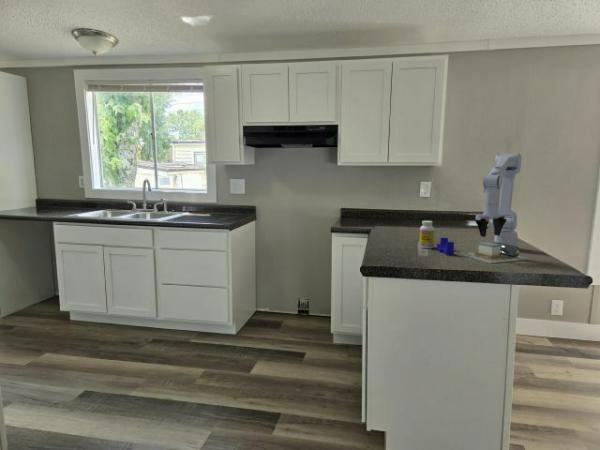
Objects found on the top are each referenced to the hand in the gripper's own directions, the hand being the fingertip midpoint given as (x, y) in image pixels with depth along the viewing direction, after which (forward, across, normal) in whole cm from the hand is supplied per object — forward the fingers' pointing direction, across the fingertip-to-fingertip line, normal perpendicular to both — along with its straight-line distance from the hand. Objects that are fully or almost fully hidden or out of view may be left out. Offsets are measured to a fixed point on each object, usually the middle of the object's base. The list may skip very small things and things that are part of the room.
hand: (490, 235), depth 168 cm
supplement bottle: (+10, +10, -29) cm, 32 cm away
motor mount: (+9, -2, +1) cm, 10 cm away
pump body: (+8, 0, 0) cm, 8 cm away
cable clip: (+10, +10, -16) cm, 21 cm away
